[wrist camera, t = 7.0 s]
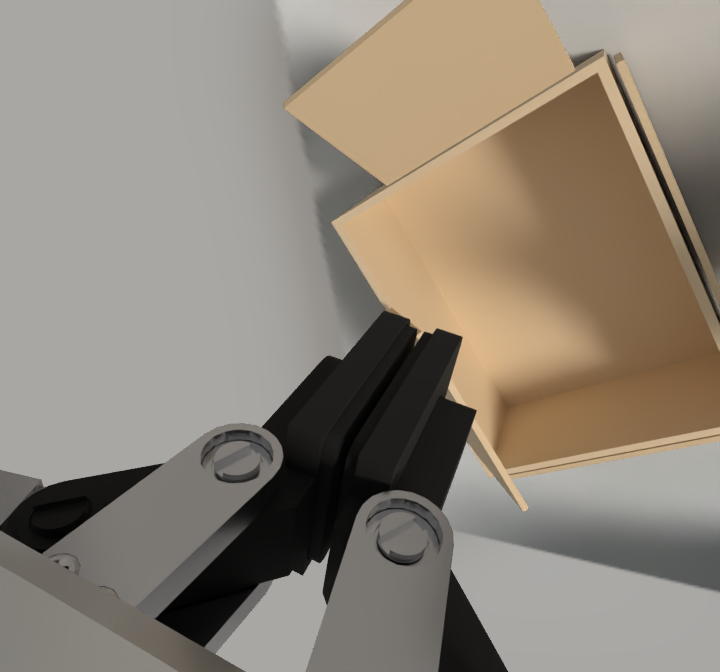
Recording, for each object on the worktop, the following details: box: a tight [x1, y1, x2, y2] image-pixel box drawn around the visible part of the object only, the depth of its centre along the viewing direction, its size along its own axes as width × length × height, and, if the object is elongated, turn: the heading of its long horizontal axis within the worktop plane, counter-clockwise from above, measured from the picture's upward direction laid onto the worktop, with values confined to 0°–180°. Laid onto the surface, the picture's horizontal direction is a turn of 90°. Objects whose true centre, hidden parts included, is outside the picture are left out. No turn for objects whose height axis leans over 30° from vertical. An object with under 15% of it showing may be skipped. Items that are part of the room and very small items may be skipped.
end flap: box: [283, 0, 575, 186], centre depth 20 cm, size 1×9×7 cm
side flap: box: [387, 308, 529, 512], centre depth 26 cm, size 10×1×7 cm
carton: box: [331, 49, 720, 479], centre depth 28 cm, size 18×14×7 cm
